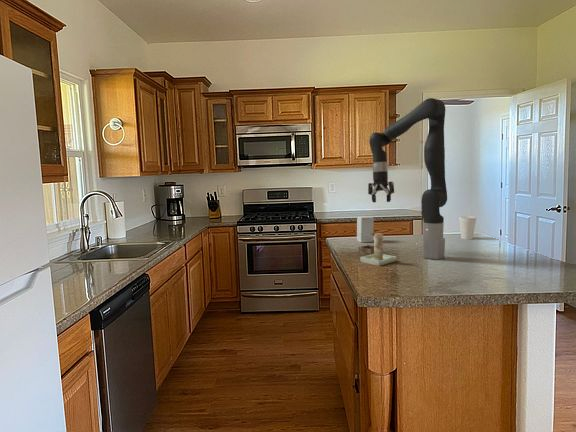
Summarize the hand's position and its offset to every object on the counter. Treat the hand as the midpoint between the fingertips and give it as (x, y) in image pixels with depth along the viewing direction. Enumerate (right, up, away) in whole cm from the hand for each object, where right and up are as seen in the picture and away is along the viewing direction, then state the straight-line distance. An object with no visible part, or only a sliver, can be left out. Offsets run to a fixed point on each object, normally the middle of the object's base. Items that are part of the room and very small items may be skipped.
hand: (381, 202), depth 213 cm
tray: (-6, -29, -22) cm, 37 cm away
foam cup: (+59, -21, +32) cm, 70 cm away
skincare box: (-3, -23, +29) cm, 37 cm away
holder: (-7, -27, -6) cm, 28 cm away
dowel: (-6, -28, -22) cm, 36 cm away
